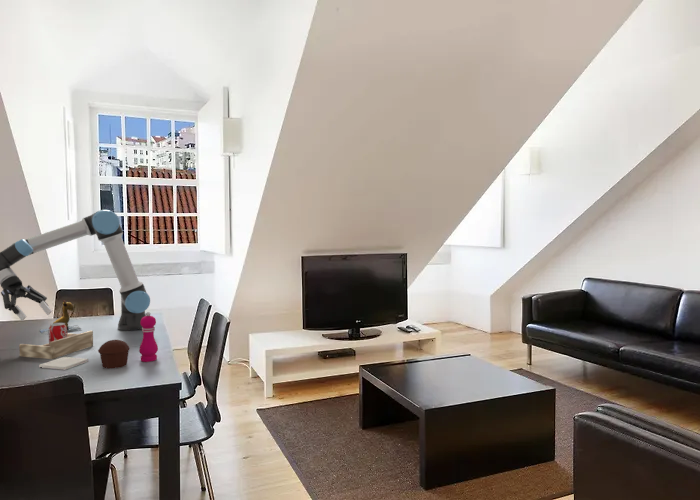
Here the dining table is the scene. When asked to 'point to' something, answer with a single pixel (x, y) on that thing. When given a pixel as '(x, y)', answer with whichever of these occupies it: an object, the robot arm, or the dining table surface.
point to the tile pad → (63, 363)
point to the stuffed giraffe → (65, 318)
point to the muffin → (114, 354)
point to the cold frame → (58, 346)
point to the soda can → (57, 331)
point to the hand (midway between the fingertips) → (37, 315)
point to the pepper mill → (148, 339)
